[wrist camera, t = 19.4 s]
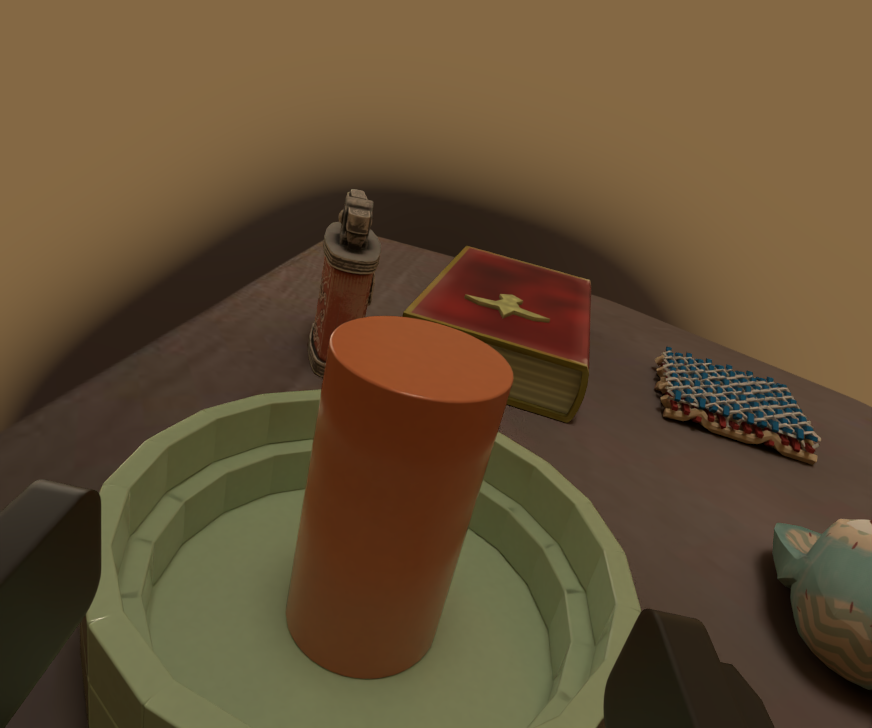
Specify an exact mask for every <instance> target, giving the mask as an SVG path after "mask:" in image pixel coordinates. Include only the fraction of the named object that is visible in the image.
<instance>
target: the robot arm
mask: <svg viewBox="0 0 872 728" xmlns="http://www.w3.org/2000/svg"><path fill="white" fill-rule="evenodd" d="M100 577H101V497H100V495H99V493H98V492H97V491H95V490H92V489H87V488H82V487H77V486H73V485H68V484H63V483H58V482H54V481H49V480H44V479H41V480H37V481H35V482H33V483H32V484H31V485H29V486H28V487H27V488H26V489H25V490H24V491H23V492H22V493H21V494H19V495H18V496H17V497H16V498H15V499H14V500H13V501H12V502H11V503H10V504H9V505H8V506H6V507H5V508H4V509H3V510H2V511H0V728H5V726H6V725H7V724H8V722H9V721H10V720H11V718H12V717H13V715H14V714H15V713H16V711H17V710H18V708H19V707H20V706H21V704H22V703H23V701H24V700H25V699H26V697H27V696H28V694H29V693H30V692H31V690H32V689H33V687H34V686H35V685H36V683H37V682H38V680H39V679H40V678H41V676H42V675H43V674H44V672H45V671H46V669H47V668H48V667H49V665H50V664H51V662H52V661H53V660H54V658H55V657H56V655H57V654H58V653H59V651H60V650H61V648H62V647H63V646H64V644H65V643H66V641H67V640H68V639H69V637H70V636H71V634H72V633H73V632H74V630H75V629H76V628H77V626H78V625H79V623H80V622H81V621H82V619H83V618H84V616H85V615H86V613H87V611H88V610H89V608H90V606H91V604H92V602H93V599H94V597H95V595H96V592H97V589H98V586H99V582H100ZM603 711H604V722H605V727H606V728H774V725H773V723H772V721H771V719H770V717H769V715H768V713H767V711H766V708H765V706H764V704H763V702H762V700H761V699H760V698H759V696H758V695H757V694H756V693H755V692H754V690H753V689H752V688H751V687H750V685H749V684H748V683H747V682H746V681H745V679H744V678H743V677H742V676H741V674H740V673H739V672H738V671H737V670H736V668H735V667H734V666H733V665H732V664H727V663H722V662H720V660H719V658H718V656H717V653H716V651H715V649H714V646H713V644H712V642H711V639H710V637H709V635H708V632H707V630H706V628H705V626H704V625H703V624H702V622H700V621H699V620H698V619H695V618H690V617H686V616H681V615H676V614H671V613H667V612H662V611H657V610H652V609H645V610H643V611H642V612H641V613H640V614H639V616H638V618H637V620H636V622H635V624H634V626H633V628H632V630H631V632H630V634H629V636H628V638H627V640H626V642H625V644H624V646H623V648H622V650H621V652H620V654H619V656H618V658H617V660H616V662H615V664H614V666H613V668H612V670H611V672H610V674H609V677H608V679H607V682H606V687H605V692H604V703H603Z"/></svg>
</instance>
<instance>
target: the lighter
mask: <svg viewBox="0 0 872 728" xmlns="http://www.w3.org/2000/svg"><path fill="white" fill-rule="evenodd" d="M372 212H373V201H370V200H367V197H366V196H365V193H364V192H363V191H360V190H354V189H351V192H348V195H347V196H346V200H345V205H344V210H342V211H341V212H340V214H339V221H340V222H334V223H332V224H331V225H330V226H329V227H328V228H327V230H326V233H325V237H324V243H323V250H324V255H325V259H324V266H323V272H322V279H321V286H320V292H319V299H318V305H317V312H316V318H315V322H314V324H313V325H312V329H311V332H310V337H309V343H308V355H309V361H310V364H311V367H312V370H313V371H314V373H316V374H317V375H319V376H321V377H323V375H324V369H325V363H326V357H327V351H328V345H329V340H330V336H331V335H332V333H333V331H334V330H335V329H336V328H337V327H338V326H340V325H342V324H343V323H346V322H348V321H351V320H354V319H358V318H364V317H365V315H366V309H367V306H369V305H370V304H371V300H372V294H373V289H374V284H375V274H374V272H375V270H376V268H377V266H378V264H379V259H380V253H381V244H380V242H379V240H378V238H377V236H376V235H375V234H374V233H373V231H372V230H370V226H371V224H372Z"/></svg>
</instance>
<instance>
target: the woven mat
mask: <svg viewBox="0 0 872 728" xmlns="http://www.w3.org/2000/svg"><path fill="white" fill-rule="evenodd" d="M671 349H672V348H671V347H667V346H666V352H663V353H662V354H663V355H661V356H660V357H658V358H656V359H655V361H656V363H657V365H658V366H659V365H661V367H659V368H657V369H656V370H657V375H659V377H660V378H661V379H660V381H658V382H657V383H656V385H655V389H656V390H659V391H661V392H662V393H665V395H663V396H662V397H660V398H661V403H662V404H663V406H664V407H665V409H664V412H663V417H666V418H671V419H676V420H680V421H686V420H690V419H692V421H693V422H696V423H700V424H701V425H702V426H704V427H705V428H706V429H708V430H709V431H710V432H713V433H716V434H719V435H722V436H725V437H729V438H732V439H735V440H738V441H741V442H744V443H748V444H759V443H763V442H764V444H765V445H766V446H769V447H772V446H773V448H775V449H776V450H777V451H778V452H780V453H781V454H782V455H784V456H787V457H790V458H793V459H796V460H799V461H802V462H805V463H808V464H812V465H813V464H815V463H816V462H817V455H815V454H813V453H814V452H815V450H814V449H815V448H817V447H819V445H818V443H817V444H815V445H814V443H813V441H815V442H817V440H818V441H821V438H820V437H819V436H818V435H817V434H815V432H813V428H814V427H812V426H811V425H810V424H811V421H807V420H806V419H807V417H806V416H805V415H803V413H802V410H801V409H800V408H799V407H798V405H796V401H795V400H794V398H793V396H791V393H790V391H789V390H788V388H787V386H786V385H783V384H779V383H777V384H775V383H774V382H773V378H770V377H767V379H766V380H767V382H768V383H766V380H765V379H763V378H759V377H756V378H754V377H753V372H750V371H747V372H746V374H747V376H746V377H745V374H744V372H739V371H735V372H734V371H733V370H732V366H730V365H727V364H726V370H724V367H723V366H720V365H715V366H713V365H712V360H710V359H707V358H706V364H704V362H703V360H701V359H695V360H694V359H693V358H692V354H691V353H686V358H683V354H681V353H675V355H674V354H673V353H672V352H671ZM804 435H805V436H804ZM800 449H802V450H800ZM803 450H804V451H803Z"/></svg>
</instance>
